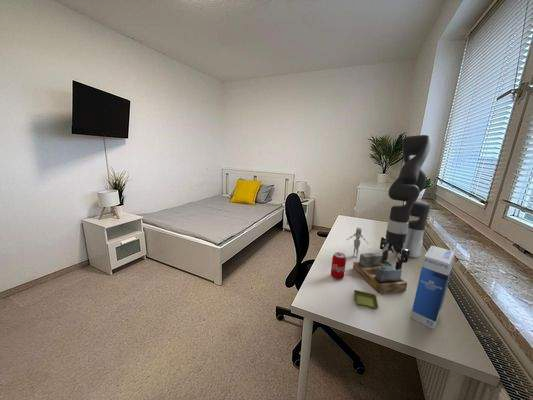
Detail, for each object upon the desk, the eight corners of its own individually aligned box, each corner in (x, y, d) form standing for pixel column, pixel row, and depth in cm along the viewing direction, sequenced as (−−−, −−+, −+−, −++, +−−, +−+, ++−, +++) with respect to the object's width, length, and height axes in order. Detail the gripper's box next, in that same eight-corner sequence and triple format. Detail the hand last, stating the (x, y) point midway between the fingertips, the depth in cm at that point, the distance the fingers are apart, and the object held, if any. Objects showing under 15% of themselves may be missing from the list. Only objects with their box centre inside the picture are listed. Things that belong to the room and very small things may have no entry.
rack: (376, 267, 114) (378, 250, 112) (405, 290, 95) (409, 271, 93) (352, 268, 112) (354, 252, 110) (377, 293, 93) (380, 274, 91)
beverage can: (337, 282, 100) (339, 259, 97) (327, 275, 105) (330, 253, 103) (346, 278, 103) (349, 256, 100) (337, 272, 108) (339, 250, 105)
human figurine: (344, 255, 126) (347, 227, 122) (344, 253, 129) (348, 225, 125) (366, 260, 121) (370, 230, 117) (366, 257, 124) (370, 228, 120)
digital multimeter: (377, 257, 126) (378, 252, 126) (393, 270, 112) (394, 265, 111) (365, 257, 126) (366, 252, 125) (380, 271, 111) (381, 266, 111)
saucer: (353, 306, 85) (354, 302, 85) (353, 293, 93) (353, 289, 92) (377, 312, 82) (378, 308, 82) (375, 298, 90) (376, 294, 90)
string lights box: (418, 301, 88) (431, 244, 82) (441, 312, 83) (457, 251, 77) (409, 318, 79) (423, 255, 73) (435, 330, 74) (451, 264, 68)
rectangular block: (393, 281, 99) (396, 265, 98) (398, 285, 96) (401, 269, 94) (374, 282, 98) (376, 267, 96) (379, 287, 94) (381, 271, 93)
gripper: (418, 236, 85) (411, 272, 88) (392, 224, 98) (386, 256, 102) (402, 237, 83) (395, 274, 87) (377, 224, 97) (372, 257, 101)
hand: (390, 264), depth 95 cm, fingers open, 7 cm apart
